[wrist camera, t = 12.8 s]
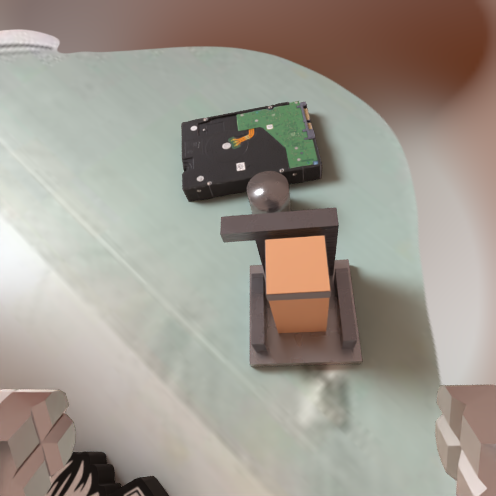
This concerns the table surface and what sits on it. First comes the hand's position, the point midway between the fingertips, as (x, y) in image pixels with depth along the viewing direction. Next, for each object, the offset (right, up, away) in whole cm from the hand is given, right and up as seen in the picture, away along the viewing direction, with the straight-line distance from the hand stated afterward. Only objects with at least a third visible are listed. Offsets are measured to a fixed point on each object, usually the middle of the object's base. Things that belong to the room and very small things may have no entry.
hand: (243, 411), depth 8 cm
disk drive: (0, +14, +36) cm, 38 cm away
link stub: (+3, +7, +31) cm, 32 cm away
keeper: (+5, -2, +25) cm, 26 cm away
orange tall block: (+5, -2, +24) cm, 25 cm away
